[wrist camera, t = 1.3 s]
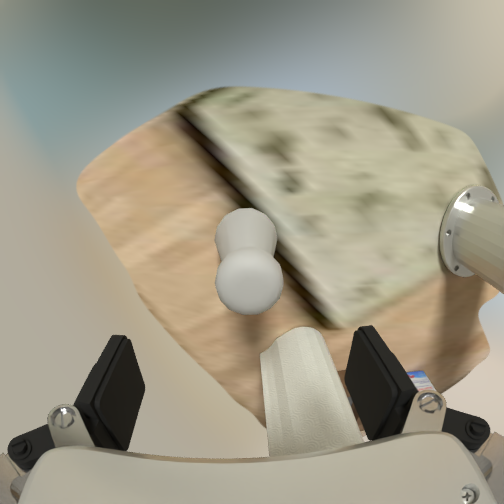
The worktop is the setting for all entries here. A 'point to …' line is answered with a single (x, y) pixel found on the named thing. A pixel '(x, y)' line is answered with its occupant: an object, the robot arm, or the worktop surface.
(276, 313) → the worktop surface
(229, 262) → the salt shaker
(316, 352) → the paper towel roll
